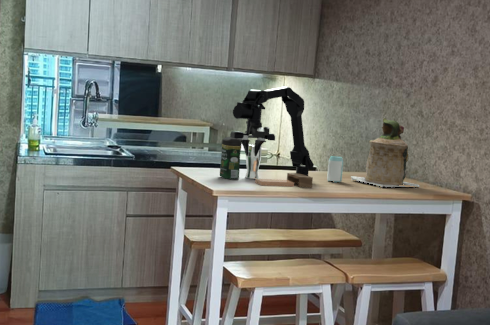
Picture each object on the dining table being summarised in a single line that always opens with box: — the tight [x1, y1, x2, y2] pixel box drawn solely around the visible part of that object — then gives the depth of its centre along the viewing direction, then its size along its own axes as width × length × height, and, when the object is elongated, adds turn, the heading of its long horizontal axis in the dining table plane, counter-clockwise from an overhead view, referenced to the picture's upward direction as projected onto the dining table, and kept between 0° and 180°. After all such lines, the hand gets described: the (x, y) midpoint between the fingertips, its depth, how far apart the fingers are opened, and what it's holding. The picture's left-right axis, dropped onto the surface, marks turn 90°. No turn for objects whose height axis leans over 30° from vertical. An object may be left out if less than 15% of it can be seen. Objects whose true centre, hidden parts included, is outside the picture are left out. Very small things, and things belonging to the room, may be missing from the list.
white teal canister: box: [326, 155, 344, 183], centre depth 319 cm, size 7×7×12 cm
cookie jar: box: [350, 117, 420, 188], centre depth 323 cm, size 25×25×32 cm
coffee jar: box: [219, 136, 242, 180], centre depth 300 cm, size 10×8×19 cm
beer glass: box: [244, 144, 262, 180], centre depth 307 cm, size 7×7×15 cm
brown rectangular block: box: [286, 172, 314, 188], centre depth 296 cm, size 13×6×4 cm, turn 22°
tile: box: [254, 178, 295, 187], centre depth 291 cm, size 8×15×2 cm, turn 107°
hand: (251, 156), depth 286 cm, fingers open, 4 cm apart
